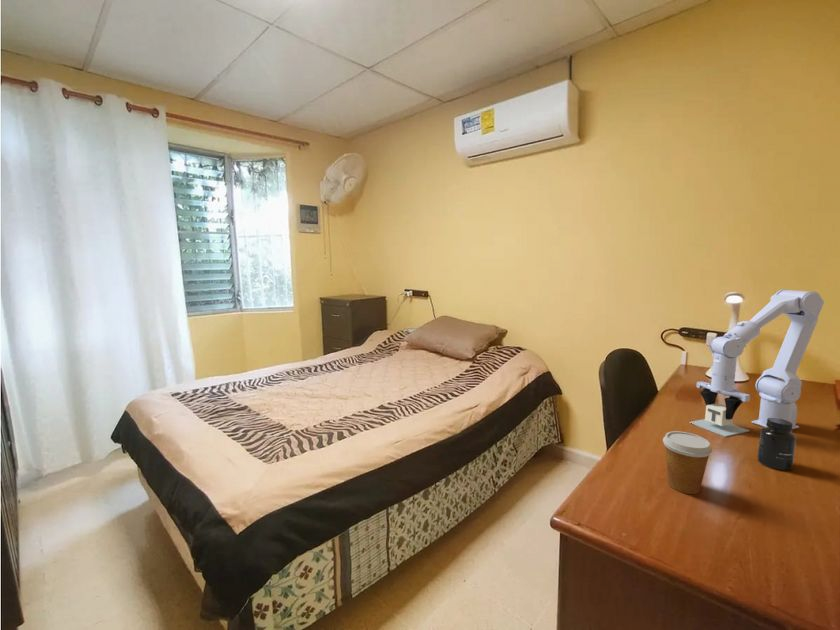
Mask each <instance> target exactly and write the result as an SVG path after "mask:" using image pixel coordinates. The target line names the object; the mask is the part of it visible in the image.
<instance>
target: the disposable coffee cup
mask: <svg viewBox="0 0 840 630" xmlns="http://www.w3.org/2000/svg"><path fill="white" fill-rule="evenodd" d="M662 443H663V445H664V451H665V452H664V453H665V466H666V477H667V478H666V479H667V484H668V486H669V487H670V488H671V489H673V490H675V491H677V492H679V493H682V494H687V495H696V494H699V493H700V491H701V487H702V483H703V479H704V476H705V472H706V468H707V464H708V459H709V457H710V455H711V454H712V452H713V448H712V447H711V443H710V442H709V440H708V439H706V438H704V437H702V436H701V435H698V434H694V433H691V432H685V431H676V430H673V431H668V432H666V433H665V436H664V437H663V438H662Z"/></svg>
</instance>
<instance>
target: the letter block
mask: <svg viewBox="0 0 840 630" xmlns="http://www.w3.org/2000/svg"><path fill="white" fill-rule="evenodd" d="M704 414H705V416H704V419H705V420H707V421H709V422H712V423H715V424H717V425H720V426H724V425H728V424H733V421H734V419H733V418H734V417H733V418H732V419H730V420H727V419H726V405H724V404H720V403H716V402H715V404H710V405H706V404H705V413H704Z"/></svg>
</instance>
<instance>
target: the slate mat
mask: <svg viewBox="0 0 840 630" xmlns="http://www.w3.org/2000/svg"><path fill="white" fill-rule="evenodd" d="M691 423H692V425H693V424H694V426H695V427H698V428H701V429H703V430H707V431H709V432H712V433H713V434H716V435H720V436H722V437H724V438H727V437H731V436H736V435H740V434H743V433H748V432H749V433H750V430H749V429H746V428H744V427H741V426H739V425H736V424H733V423H732V424H728V425H724V426H720V425H717V424H715V423H712V422H709V421H707V420H705V418H703V419H697V420H694V421H688V424H691Z"/></svg>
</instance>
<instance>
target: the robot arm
mask: <svg viewBox="0 0 840 630" xmlns="http://www.w3.org/2000/svg"><path fill="white" fill-rule="evenodd" d="M824 304H825V301H824V299H823V298H822V296H821V294H819V292H817V291H814V290H813V291H812V290H809V291H806V290H794V289H793V290H791V289H784V288H783V289H780V290H778V291H777V292H776V293H774V294H773V295H772V296H770V299H769V301H768V303H767V304H766V305H765V306H764V307H763V308H762V309H761V310H759V311H758V312H757V313H756V314H754V316H753V317H752V318H751V319H749V320H743V321H739V322H737V323H736V325H735V326H734V327H733V328H731V329H730V330H729V331H727V332H725V333H724V335H723V336H717V337H716V338H714V339H712V341H711V342H710V344H709V350H710V351H711V353H712V354H711V357H712V369H711V382H705V381H696V388H697V389H702V390H700V392H699V394H700V395H701V397H702V399H703V400H704V404H705V406H706V405H710V404H715V403H716V400H717V397H718V394H719V395H724V396H727V397H724V403H725V406H726V419H727V420H730V419H732V418H734V415H735V414H736V412H737V410H738V408H739V407H740V406H741V405H742V404H743V403H744V402H745V403H747V402H751V401H750V400H751V394H748V393H744V392H743V391H740V390H737V389H735V380H736V379H735V378H736V370H737V362H738V361H737V359H738V357H739V356H741V355H742V354H743V352H744V350H745V348H746V346H747V344H749V343H750V342H751V341H753V340H754V339H755V338H756V337H758V336H759V335H760V334H761V329H762V328H763V327H764V326H766V325H767V324H769V323H771V322H772V321H773V320H775V319H776V318H778V317H779V316H780V315H782V314H784V315H785V316H786V317H788V319H790V325H789V327H788V329H787V332H786V334H785V336H784V338H783V339H784V340H783V341H782V345H781V346H780V348H779V351H778V353H777V355H776V358H775V361H774V363H773V366H772V367H770V368H768V369H765V370H763V372H762V374H761V375H760V376H759V378H757V379H756V382H755V385H754V386H755V390H756V391H757V392H758V394H759V396H760V404H759V412H758V414H759V415H758V419H756V420H755V419H754V420H752V421H751V423H752V424H755V425H757V426H761V427H763V428H764V427H767V426H766V423H767V419H768V418H779V419H783V420H786V421H789V422H791V423H792V424H793V426H792V430H796V429H799V428H800V426H799V425H796V424H797V416H798V414H797V413H798V405H797V404H796V402H797V401H798V400H799V398H800V397H801V395H802V390H801V389H802V384H803V380H801V379H800V377H799V376H798V375H797V371H798V369H799V366H800V364H801V362H802V359H803V357H804V356H805V352H806V350H807V347H808V345H809V343H810V341H811V338H812V335H813V333H814V331H815V329H816V327H817V324H818V321H819V316H820V313H821V311H822V308H823V307H824Z"/></svg>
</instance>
